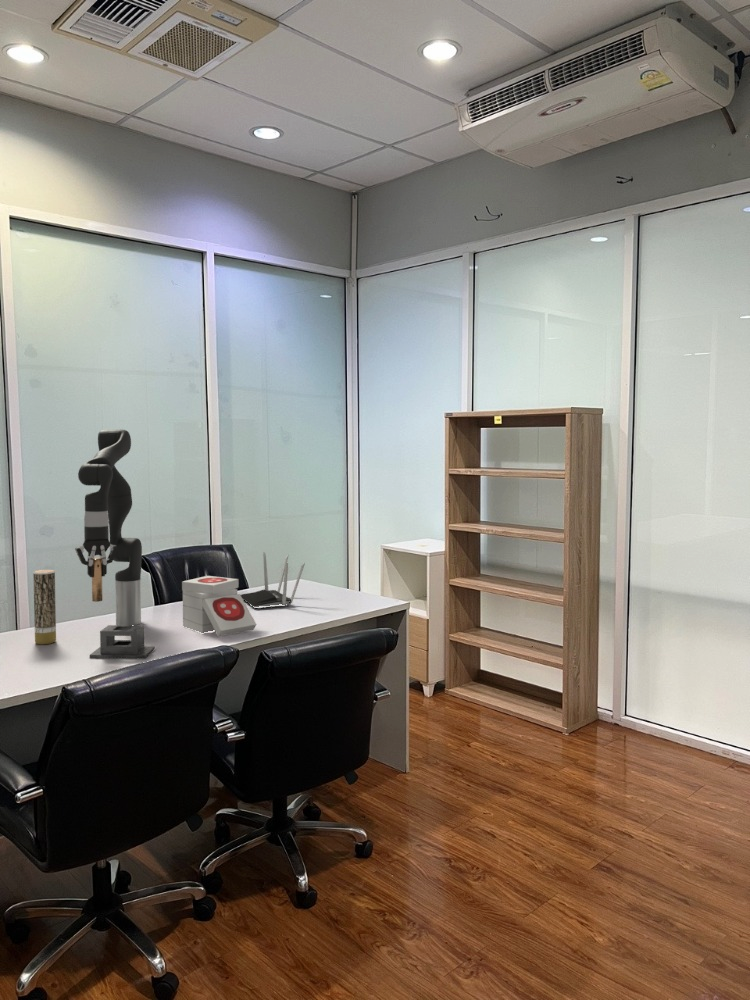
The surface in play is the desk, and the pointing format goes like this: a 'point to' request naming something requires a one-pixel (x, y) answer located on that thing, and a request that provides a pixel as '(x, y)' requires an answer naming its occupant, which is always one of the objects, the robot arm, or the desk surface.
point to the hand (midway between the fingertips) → (97, 576)
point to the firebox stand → (122, 643)
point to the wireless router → (272, 596)
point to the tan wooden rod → (97, 580)
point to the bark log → (44, 606)
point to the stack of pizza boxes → (215, 606)
